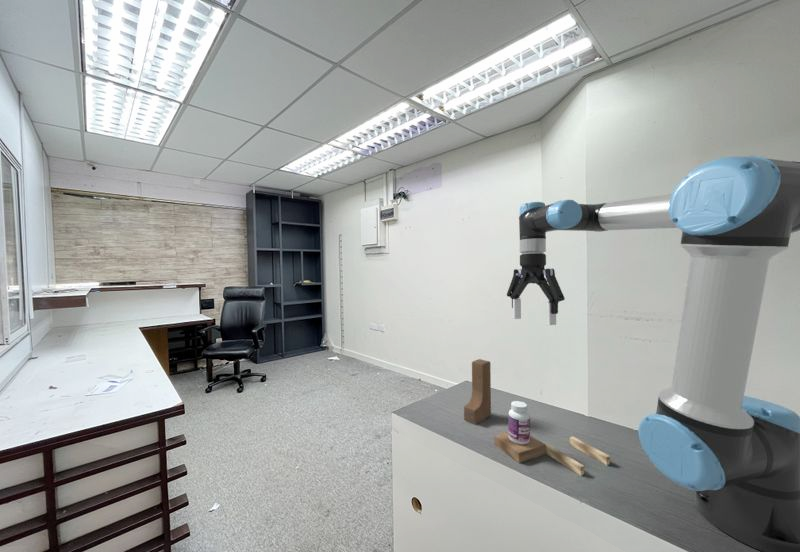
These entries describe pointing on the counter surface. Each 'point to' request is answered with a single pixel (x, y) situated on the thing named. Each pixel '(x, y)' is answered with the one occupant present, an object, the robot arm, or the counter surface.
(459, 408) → the counter surface
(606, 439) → the counter surface
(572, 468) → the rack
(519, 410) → the pill bottle
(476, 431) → the counter surface
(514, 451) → the pedestal
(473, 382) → the wooden block
